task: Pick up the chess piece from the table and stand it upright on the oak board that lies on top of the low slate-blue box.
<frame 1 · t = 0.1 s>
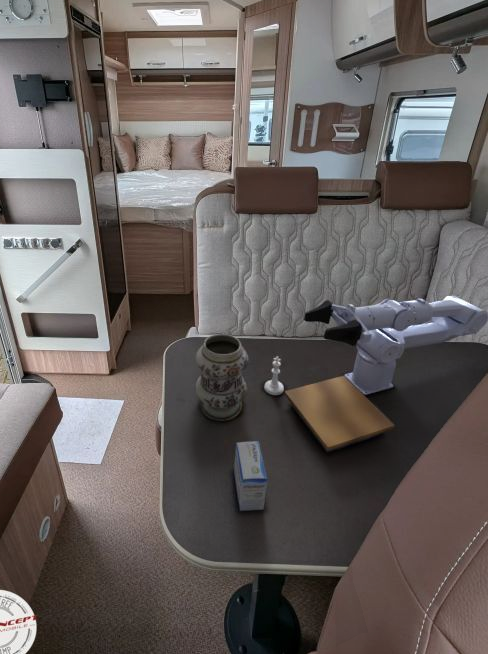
hand: (315, 325, 80), 22 cm above the table, tool horizontal, fingers open, 7 cm apart
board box: (333, 420, 84), on the table
apothecary jar: (220, 405, 88), on the table
chess piece: (273, 388, 93), on the table
medicine box: (248, 491, 68), on the table
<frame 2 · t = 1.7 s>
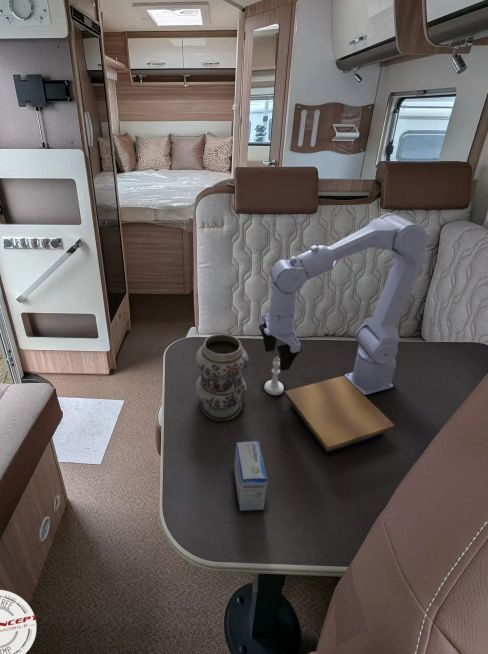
hand: (277, 359, 89), 9 cm above the table, tool pointing down, fingers open, 7 cm apart
nothing on the table moved.
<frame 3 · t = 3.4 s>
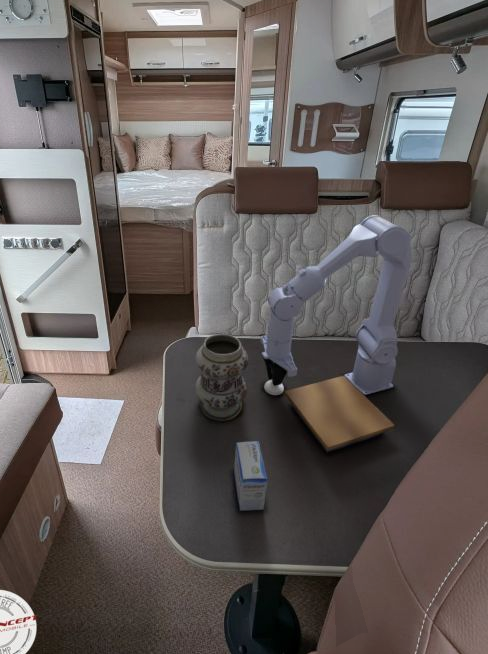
hand: (274, 381, 92), 2 cm above the table, tool pointing down, fingers closed on chess piece
chess piece: (273, 388, 93), on the table, touching gripper
everything else where it was.
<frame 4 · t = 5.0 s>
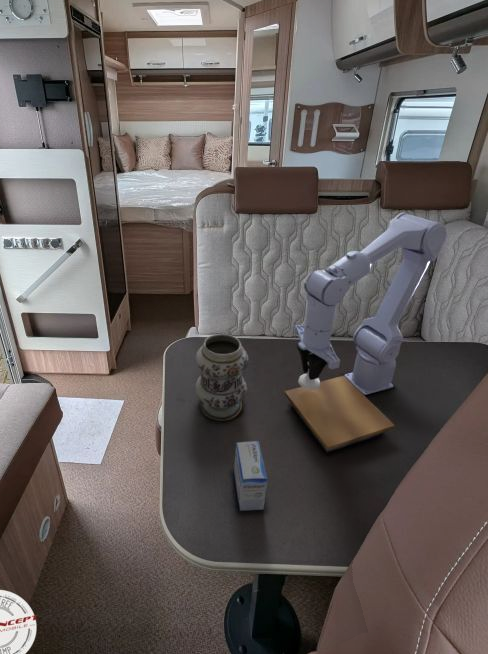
hand: (310, 374, 84), 9 cm above the table, tool pointing down, fingers closed on chess piece
chess piece: (309, 383, 85), point 7 cm above the table, touching gripper
everything else where it was.
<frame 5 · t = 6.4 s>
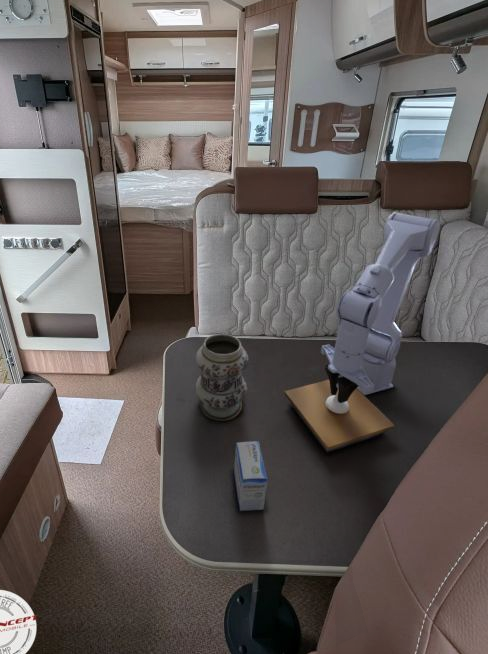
hand: (338, 397, 81), 7 cm above the table, tool pointing down, fingers closed on chess piece
chess piece: (336, 406, 82), point 4 cm above the table, touching gripper
everything else where it was.
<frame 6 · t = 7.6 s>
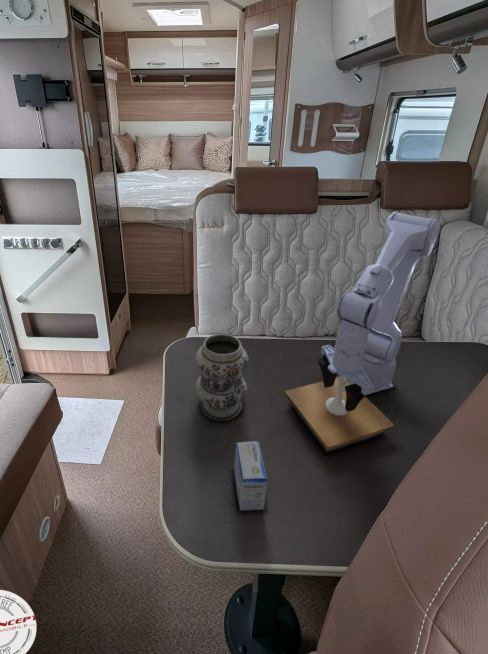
hand: (338, 397, 81), 7 cm above the table, tool pointing down, fingers open, 7 cm apart
chess piece: (336, 407, 82), point 4 cm above the table, touching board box
everything else where it was.
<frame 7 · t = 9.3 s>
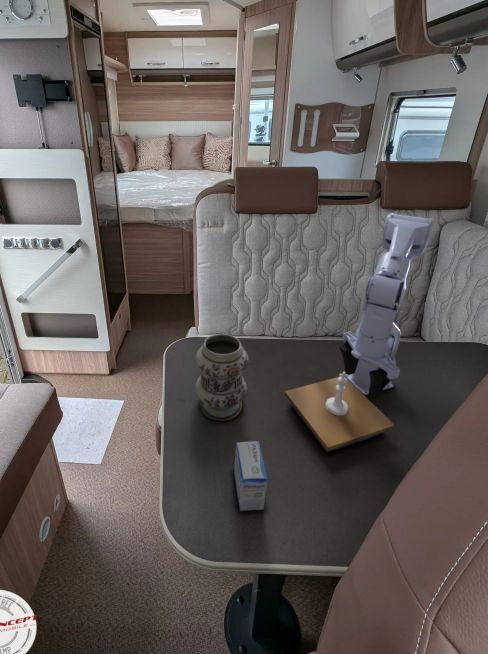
hand: (361, 384, 79), 10 cm above the table, tool pointing down, fingers open, 7 cm apart
nothing on the table moved.
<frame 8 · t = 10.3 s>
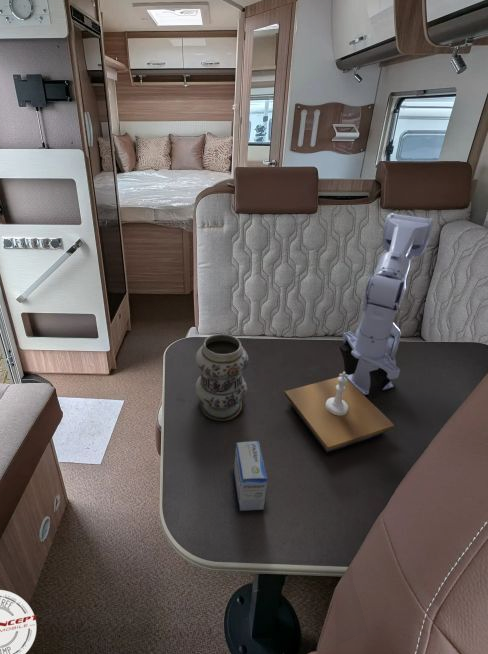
hand: (361, 384, 79), 10 cm above the table, tool pointing down, fingers open, 7 cm apart
nothing on the table moved.
at the end: chess piece inside the target area on the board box (0.0 cm from its centre), point 3.8 cm above the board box's base; chess piece tilted 0°; the gripper is holding nothing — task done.
